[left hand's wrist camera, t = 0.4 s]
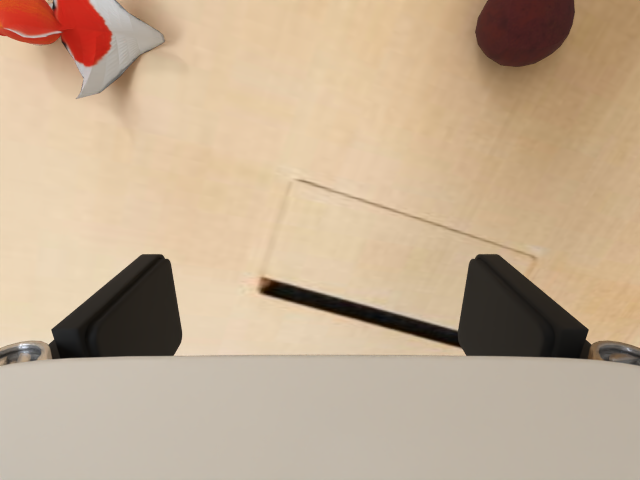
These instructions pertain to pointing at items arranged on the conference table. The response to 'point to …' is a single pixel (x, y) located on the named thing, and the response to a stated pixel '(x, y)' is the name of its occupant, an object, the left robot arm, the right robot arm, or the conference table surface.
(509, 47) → the potato
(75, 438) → the left robot arm
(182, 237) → the conference table surface
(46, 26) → the crumpled snack bag
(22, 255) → the conference table surface
